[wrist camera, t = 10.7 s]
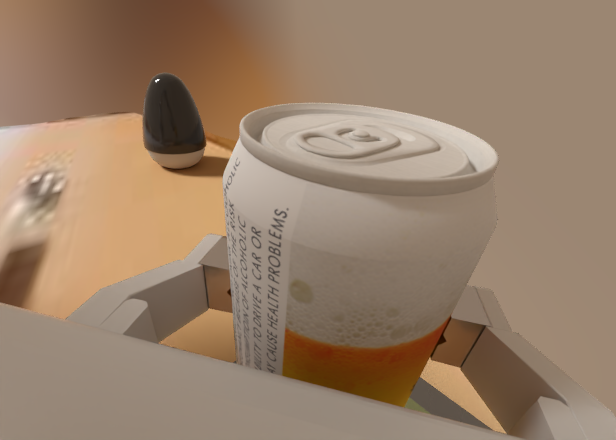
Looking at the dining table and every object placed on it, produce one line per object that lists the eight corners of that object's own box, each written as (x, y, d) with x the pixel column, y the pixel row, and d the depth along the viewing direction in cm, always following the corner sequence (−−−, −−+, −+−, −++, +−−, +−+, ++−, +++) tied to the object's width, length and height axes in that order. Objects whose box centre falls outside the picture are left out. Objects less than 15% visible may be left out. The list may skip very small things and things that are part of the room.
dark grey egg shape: (197, 151, 61) (187, 69, 53) (216, 168, 54) (209, 77, 46) (142, 158, 55) (123, 67, 47) (156, 178, 48) (136, 76, 40)
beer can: (394, 446, 14) (559, 147, 6) (301, 575, 11) (420, 251, 3) (310, 357, 18) (349, 95, 10) (219, 430, 14) (166, 109, 6)
